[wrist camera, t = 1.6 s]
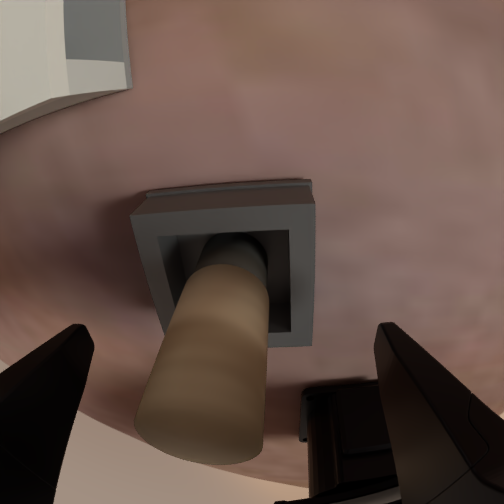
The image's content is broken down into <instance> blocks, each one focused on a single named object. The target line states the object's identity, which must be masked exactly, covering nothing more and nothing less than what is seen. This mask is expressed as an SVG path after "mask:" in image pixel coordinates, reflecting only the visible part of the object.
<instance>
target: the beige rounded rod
mask: <svg viewBox="0 0 504 504" xmlns="http://www.w3.org/2000/svg"><path fill="white" fill-rule="evenodd" d="M267 272H268V258H267V254H266V251H265V249H264V247H263V246H262V245H261V243H260V242H259V241H258V240H257V239H255V238H254V237H252V236H250V235H248V234H246V233H243V232H225V233H219V234H217V235H215V236H213V237H212V238H210V239H209V240H208V241H207V243H206V244H205V246H204V248H203V250H202V252H201V255H200V257H199V260H198V262H197V265H196V267H195V270H194V272H193V274H192V275H191V276H190V278H189V279H188V280H187V282H186V284H185V286H184V289H183V291H182V294H181V296H180V299H179V301H178V304H177V306H176V309H175V311H174V314H173V316H172V319H171V321H170V324H169V326H168V329H167V332H166V334H165V337H164V339H163V342H162V345H161V347H160V350H159V353H158V355H157V358H156V361H155V363H154V366H153V369H152V371H151V374H150V377H149V380H148V382H147V385H146V388H145V391H144V393H143V396H142V399H141V402H140V405H139V408H138V410H137V413H136V416H135V419H134V426H135V429H136V431H137V432H138V434H139V435H140V436H141V437H142V438H143V439H144V440H145V441H146V442H148V443H149V444H150V445H152V446H153V447H155V448H157V449H158V450H160V451H162V452H164V453H167V454H169V455H172V456H174V457H177V458H180V459H183V460H187V461H191V462H196V463H202V464H211V465H229V464H237V463H242V462H245V461H248V460H251V459H253V458H255V457H256V456H257V455H259V454H260V452H261V451H262V448H263V432H264V413H265V393H266V371H267V348H268V322H269V296H268V293H267Z"/></svg>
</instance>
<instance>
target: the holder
mask: <svg viewBox="0 0 504 504" xmlns="http://www.w3.org/2000/svg"><path fill="white" fill-rule="evenodd" d="M146 198H147V199H146V200H145V201H144V202H143V203H142V204H141V205H140V206H139V207H138V208H137V209H136V210H135V211H134V212H133V213H132V214H131V215H130V220H131V224H132V228H133V232H134V236H135V240H136V243H137V247H138V251H139V254H140V258H141V262H142V265H143V269H144V272H145V276H146V279H147V282H148V286H149V289H150V292H151V295H152V299H153V302H154V305H155V308H156V311H157V314H158V317H159V320H160V323H161V326H162V329H163V332H164V335H165V334H166V332H167V329H168V326H169V324H170V321H171V319H172V316H173V314H174V311H175V309H176V306H177V304H178V301H179V299H180V296H181V294H182V291H183V289H184V286H185V284H186V282H187V280H188V279H189V278H190V276H191V275H192V274H193V272H194V270H195V267H196V265H197V262H198V260H199V257H200V255H201V252H202V250H203V248H204V246H205V244H206V243H207V241H208V240H209V239H210V238H212V237H213V236H215V235H217V234H219V233H225V232H243V233H246V234H248V235H250V236H252V237H254V238H255V239H257V240H258V241H259V242H260V243H261V245H262V246H263V247H264V249H265V251H266V254H267V258H268V272H267V293H268V296H269V322H268V348H269V347H299V346H312V333H313V311H314V283H315V201H314V198H313V195H312V181H311V179H300V180H277V181H258V182H242V183H228V184H215V185H203V186H192V187H181V188H171V189H162V190H153V191H149V192H148V193H147V194H146Z"/></svg>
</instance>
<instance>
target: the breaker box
mask: <svg viewBox="0 0 504 504" xmlns="http://www.w3.org/2000/svg"><path fill="white" fill-rule="evenodd" d="M132 88H133V85H132V77H131V68H130V58H129V48H128V36H127V23H126V6H125V0H0V134H1V133H3V132H5V131H8V130H10V129H12V128H15V127H17V126H19V125H22V124H24V123H26V122H29V121H31V120H34V119H36V118H39V117H41V116H44V115H47V114H49V113H52V112H55V111H58V110H61V109H63V108H66V107H69V106H72V105H75V104H78V103H82V102H85V101H88V100H91V99H95V98H98V97H102V96H105V95H109V94H113V93H116V92H120V91H124V90H128V89H132Z"/></svg>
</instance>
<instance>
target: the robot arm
mask: <svg viewBox="0 0 504 504" xmlns="http://www.w3.org/2000/svg"><path fill="white" fill-rule="evenodd" d="M93 352H94V342H93V340H92V338H91V336H90V334H89V332H88V330H87V328H86V326H85V325H83V324H72V325H71V326H69V327H68V328H66V329H65V330H63V331H62V332H60V333H59V334H57V335H56V336H54V337H53V338H51V339H50V340H48V341H47V342H45V343H44V344H42V345H41V346H39V347H38V348H36V349H35V350H33V351H32V352H30V353H29V354H27V355H26V356H25V357H23V358H22V359H20V360H19V361H17V362H16V363H14V364H13V365H12V366H10V367H9V368H7V369H6V370H4V371H3V372H1V373H0V504H53V502H54V497H55V492H56V487H57V483H58V479H59V475H60V470H61V466H62V462H63V459H64V455H65V451H66V447H67V444H68V440H69V436H70V433H71V430H72V426H73V423H74V420H75V417H76V413H77V410H78V407H79V404H80V401H81V398H82V395H83V392H84V388H85V385H86V381H87V376H88V372H89V368H90V364H91V360H92V356H93ZM374 354H375V361H376V368H377V376H378V382H374V383H365V384H355V385H345V386H333V387H319V388H307V389H305V390H303V391H302V394H301V411H300V427H299V441H300V442H308V472H309V498H307V499H301V500H293V501H276V502H275V503H274V504H504V420H503V419H502V418H501V417H500V416H498V415H497V414H496V413H495V412H493V411H492V410H491V409H490V408H489V407H488V406H487V405H485V404H484V403H483V402H482V401H481V400H480V399H479V398H478V397H477V396H476V395H474V394H473V393H472V394H471V391H470V390H469V389H468V388H467V387H466V386H465V385H463V384H462V383H461V382H460V381H459V380H458V379H457V378H456V377H455V376H454V375H453V374H451V373H450V372H449V371H448V370H447V369H446V368H445V367H444V366H443V365H441V364H440V363H439V362H438V361H437V360H436V359H435V358H434V357H433V356H431V355H430V354H429V353H428V352H427V351H426V350H425V349H424V348H422V347H421V346H420V345H419V344H418V343H417V342H416V341H414V340H413V339H412V338H411V337H410V336H409V335H408V334H406V333H405V332H404V331H403V330H402V329H401V328H400V327H398V326H397V325H396V324H395V323H393V322H385V323H380V324H379V325H378V329H377V333H376V338H375V342H374Z"/></svg>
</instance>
